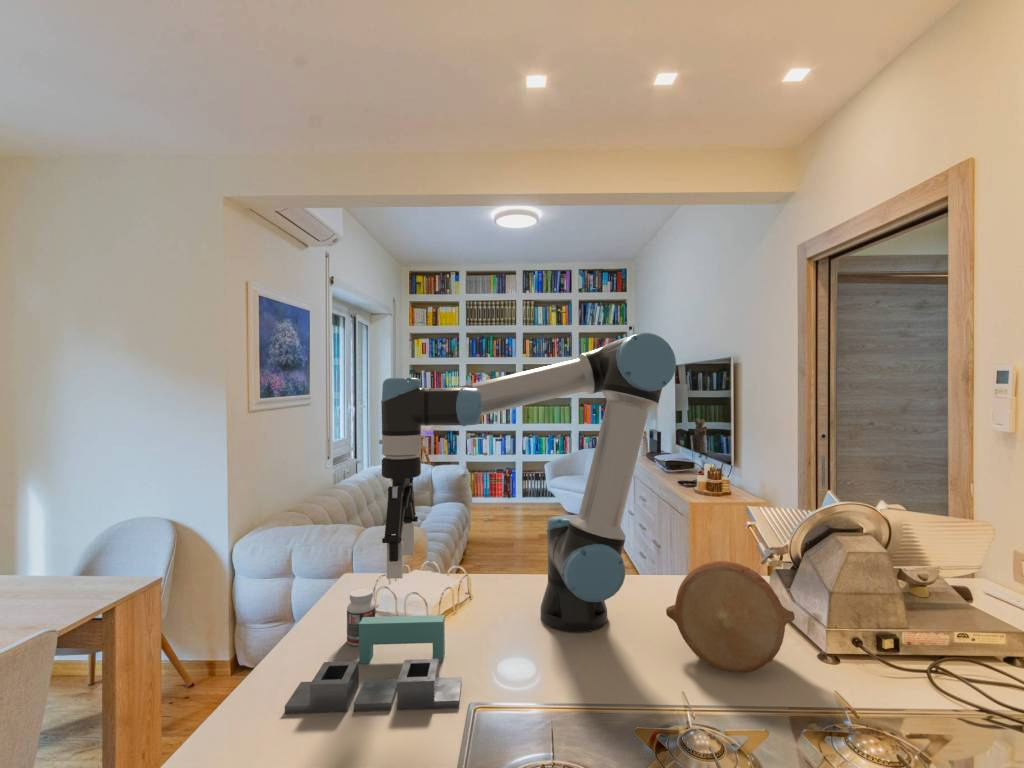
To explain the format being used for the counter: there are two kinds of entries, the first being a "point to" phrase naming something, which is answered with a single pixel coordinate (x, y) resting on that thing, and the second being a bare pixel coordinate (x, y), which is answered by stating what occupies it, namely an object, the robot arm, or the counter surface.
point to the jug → (730, 616)
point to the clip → (401, 633)
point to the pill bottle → (358, 612)
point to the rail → (376, 689)
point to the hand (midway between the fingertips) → (401, 565)
